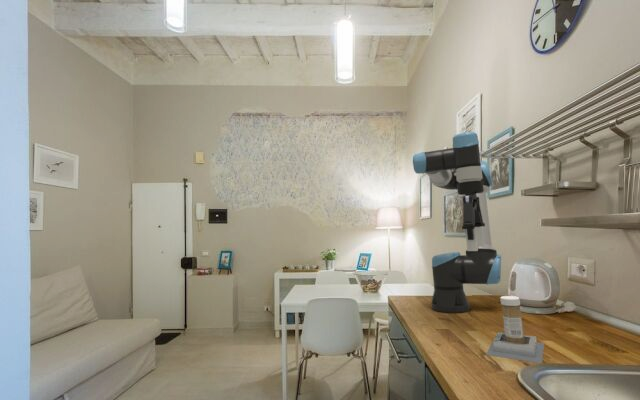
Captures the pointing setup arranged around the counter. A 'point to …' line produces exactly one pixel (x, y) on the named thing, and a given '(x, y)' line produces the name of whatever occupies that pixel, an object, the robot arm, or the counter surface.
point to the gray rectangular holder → (535, 359)
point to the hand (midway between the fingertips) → (476, 248)
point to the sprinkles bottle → (512, 319)
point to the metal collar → (515, 345)
